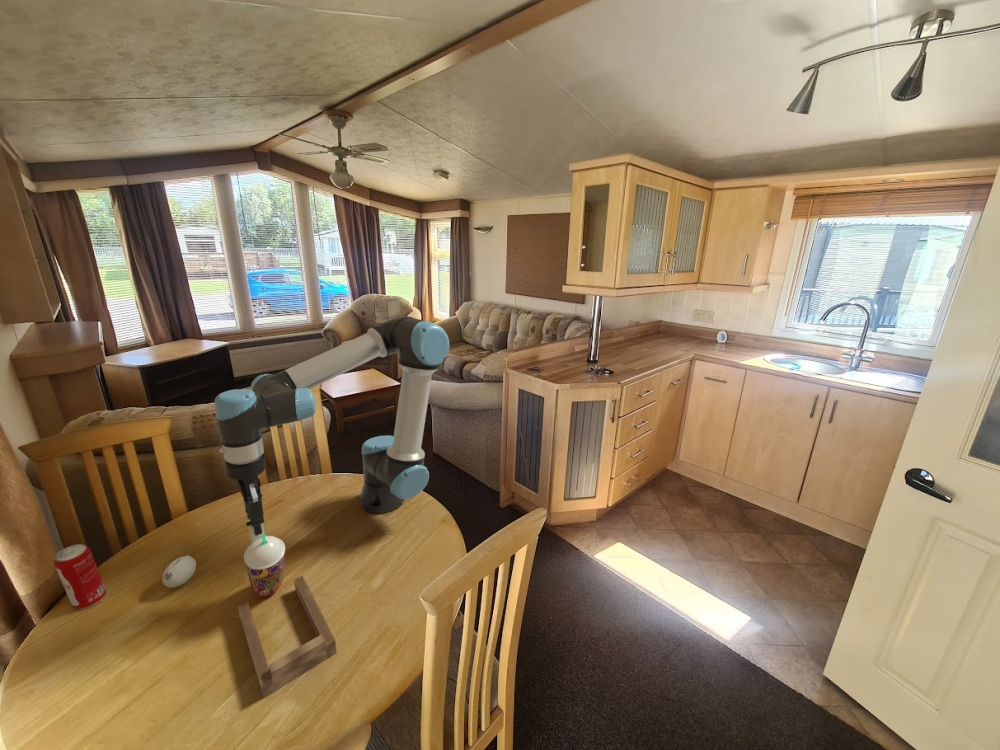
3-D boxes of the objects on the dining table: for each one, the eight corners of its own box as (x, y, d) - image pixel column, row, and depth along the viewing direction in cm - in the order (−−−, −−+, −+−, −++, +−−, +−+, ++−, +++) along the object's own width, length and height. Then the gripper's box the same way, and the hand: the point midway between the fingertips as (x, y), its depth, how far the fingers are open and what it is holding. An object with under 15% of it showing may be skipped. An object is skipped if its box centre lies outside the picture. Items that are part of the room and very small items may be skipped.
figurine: (181, 571, 103) (175, 550, 101) (205, 570, 103) (200, 550, 101) (158, 596, 95) (152, 574, 93) (184, 596, 96) (178, 574, 94)
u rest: (304, 586, 100) (301, 570, 99) (336, 652, 84) (334, 635, 83) (239, 617, 91) (236, 601, 90) (263, 698, 75) (259, 679, 74)
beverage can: (106, 586, 98) (90, 536, 93) (107, 602, 93) (90, 551, 89) (71, 599, 94) (53, 548, 89) (70, 617, 89) (51, 565, 85)
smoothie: (270, 607, 95) (266, 557, 85) (239, 594, 96) (232, 543, 86) (293, 576, 102) (292, 527, 92) (265, 565, 103) (261, 515, 93)
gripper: (220, 450, 91) (236, 534, 98) (229, 474, 82) (246, 565, 89) (257, 441, 96) (270, 522, 103) (270, 463, 86) (283, 550, 94)
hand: (259, 542), depth 96 cm, fingers closed
